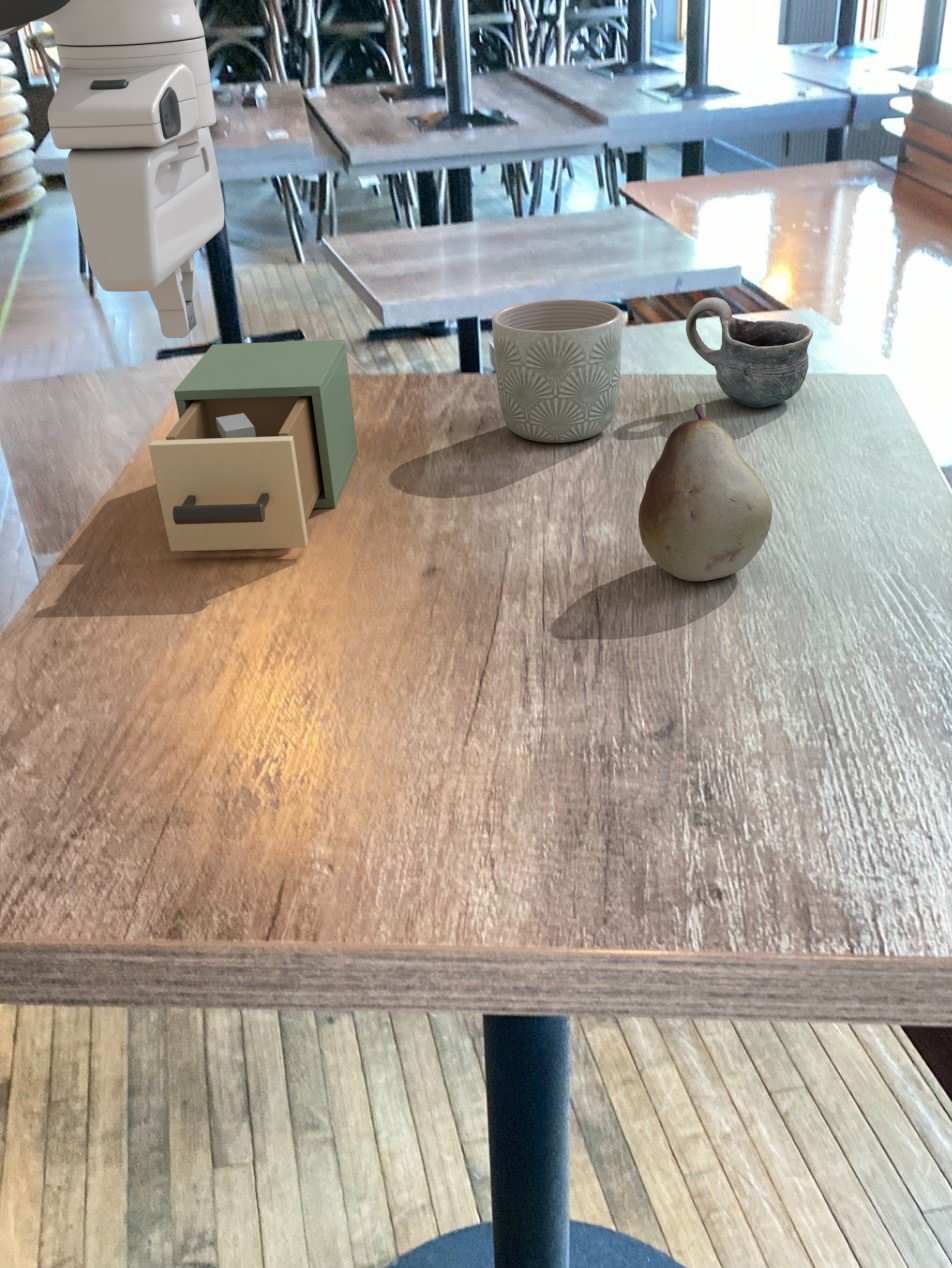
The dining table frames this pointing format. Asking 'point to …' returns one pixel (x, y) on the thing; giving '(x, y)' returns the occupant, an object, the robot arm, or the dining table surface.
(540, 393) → the planter
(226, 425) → the blue upright block
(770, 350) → the mug
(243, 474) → the drawer
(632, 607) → the dining table surface
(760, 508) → the fruit
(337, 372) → the cabinet
